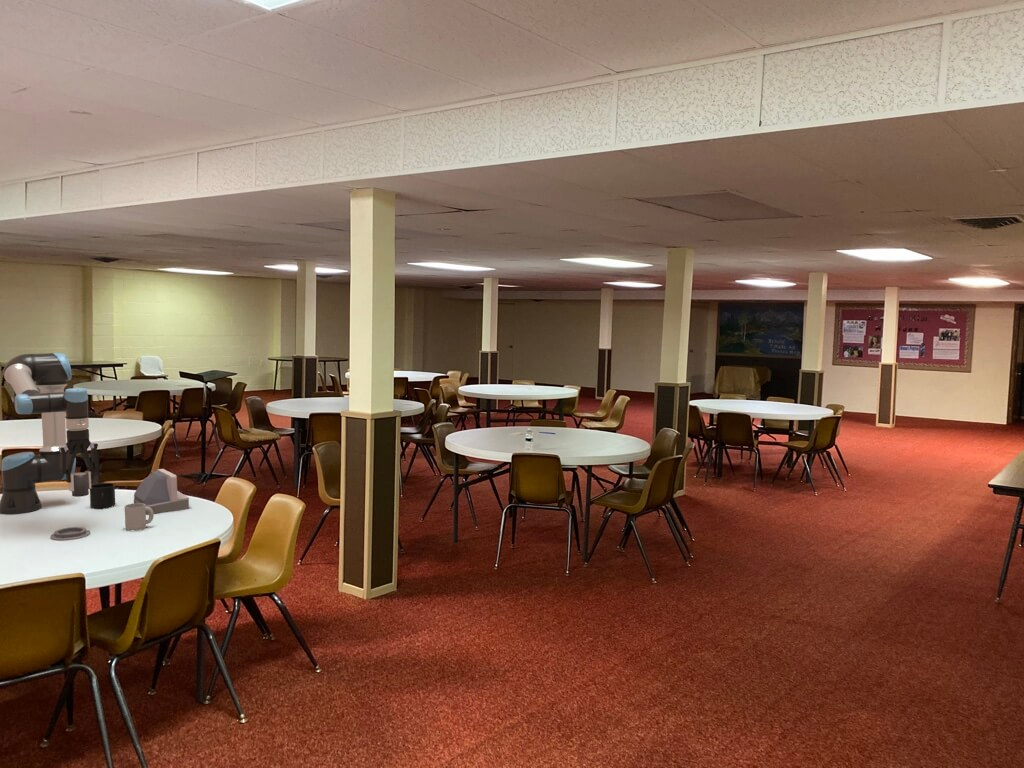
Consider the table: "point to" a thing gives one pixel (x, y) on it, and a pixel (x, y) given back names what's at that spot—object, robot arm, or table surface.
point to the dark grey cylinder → (80, 485)
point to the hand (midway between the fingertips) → (80, 489)
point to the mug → (102, 495)
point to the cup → (137, 516)
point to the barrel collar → (70, 533)
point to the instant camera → (161, 493)
